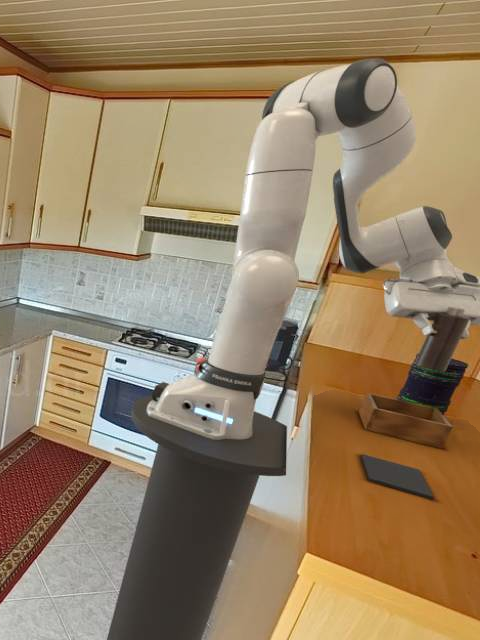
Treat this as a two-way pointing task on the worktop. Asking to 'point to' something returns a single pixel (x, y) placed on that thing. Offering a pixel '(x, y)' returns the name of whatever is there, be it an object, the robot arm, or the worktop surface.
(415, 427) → the brown wooden open box
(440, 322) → the pepper mill
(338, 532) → the worktop surface
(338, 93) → the robot arm
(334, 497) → the worktop surface
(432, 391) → the storage jar
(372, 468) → the counter mat
